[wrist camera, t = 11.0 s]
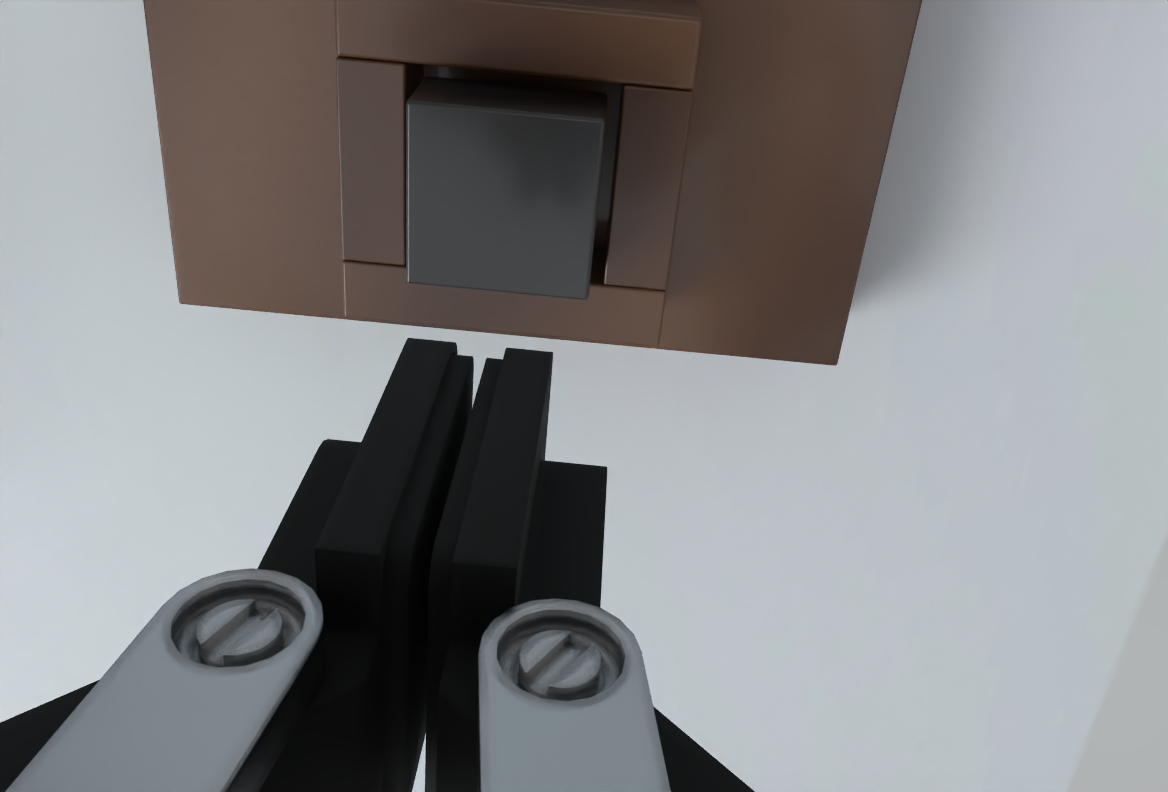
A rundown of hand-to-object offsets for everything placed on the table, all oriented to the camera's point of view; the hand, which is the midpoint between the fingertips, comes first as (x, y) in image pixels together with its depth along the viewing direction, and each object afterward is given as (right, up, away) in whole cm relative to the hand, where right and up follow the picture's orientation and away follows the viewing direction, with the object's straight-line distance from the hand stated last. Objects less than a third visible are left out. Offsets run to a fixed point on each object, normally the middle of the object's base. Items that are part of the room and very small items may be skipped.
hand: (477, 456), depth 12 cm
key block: (0, +6, +10) cm, 12 cm away
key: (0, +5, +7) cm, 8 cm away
